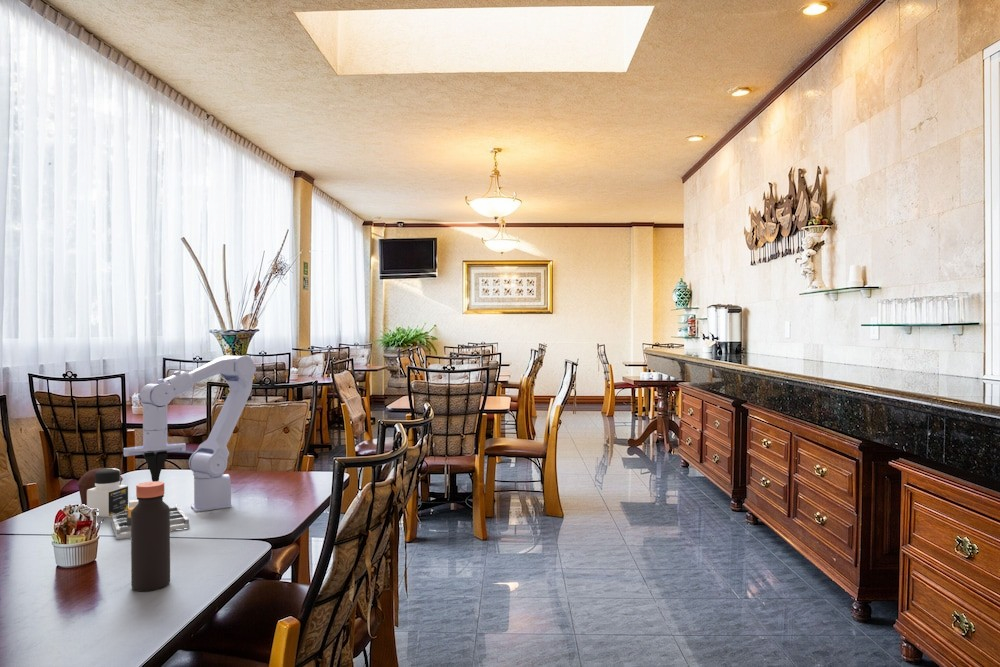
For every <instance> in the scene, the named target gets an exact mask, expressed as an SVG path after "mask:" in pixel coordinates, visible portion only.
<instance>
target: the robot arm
mask: <svg viewBox="0 0 1000 667" xmlns="http://www.w3.org/2000/svg"><path fill="white" fill-rule="evenodd" d="M256 371H257V368H256V365H255V361H254V359H253V358H252V357H250V356H249V355H231V354H225V355H222V356H220V357H216V358H215V359H212V360H211V361H209V362H207V363H205V364H202V365H201V366H199V367H196V368H195V369H193V370H192V371H190V372H187V371H184V370H183V371H180V370H175V371H174V372H173V373H172V374H173V375H169V376H168V377H165V378H159V379H157V380H156V381H157V382H156V383H148V384H145V385H144V386H143V387H142V388H141V390H140V392H139V394H137V398H138V400H139V402H140V404H141V405H142V445H138V446H137V445H136V446H130V447H124V448H123V457H125V458H126V457H130V456H141V455H142V456H143V458H144V460H145V461H146V464H147V466H148V469H149V472H150V476H151V482H154V481H159V482H160V475H161V471H162V468H163V467H164V464H165V462H166V461H167V457H168V453H173V452H174V453H175V452H176V453H177V452H186V451H187V445H186V444H187V443H185V442H183V443H182V442H180V443H168V405H169V404H170V402H171V401H172V400H173V399H175V398H177V397H179V396H181V395H183V394H185V393H187V392H190V391H192V390H193V389H194V386H195V384H197V383H200V382H202V381H203V380H207V379H208V378H211V377H214V376H216V375H220V376H221V377H222V378H223V380H224V381H225V382H226V383H227V385H228V386H229V392H228V395H227V397H226V398H225V401H224V403H223V405H222V408H221V409H220V412H219V413H218V416H217V418H216V420H215V423H214V424H213V426H212V429H211V431H210V433H209V435H208V437H207V439H206V440H204V441H203V442H201V443H200V444H199V445H198V447H197V448H196V449H195V451H194V452H193V453H192V454H191V455H190V457H189V458H188V467H189V469H190V471H192V476H194V477H193V488H194V489H193V492H194V493H193V494H194V495H193V500H194V501H193V502H194V503H191V504H190V508H192V510H193V511H194V512H195V513H196V512H206V511H212V510H218V509H227V508H232V507H233V506H232V481H231V475H230V474H229V473H224V472H225V471H226V469H227V468H228V458H229V456H230V451H229V449H228V444H229V441H230V439H231V436H232V435H233V432H234V430H235V428H236V425H237V423H238V421H239V419H240V417H241V415H242V413H243V410H244V408H245V406H246V404H247V401H248V399H249V397H250V395H251V393H252V388H253V380H254V376H255V373H256Z"/></svg>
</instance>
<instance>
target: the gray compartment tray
mask: <svg viewBox="0 0 1000 667" xmlns="http://www.w3.org/2000/svg"><path fill="white" fill-rule="evenodd" d="M169 508H170V532H172V531H171V530H176V529H183V530H185V529H184V528H189V529H190V519H189V517H188V516H187V515H186V513H185V512H184V511H183V509H182V508H181V507H180V505H179V504H175V505H174V506H172V507H170V506H169ZM110 524H111V526H112V528H113V529H112V530H113V532H115V533H114V535H115V538H116V540H123V538H124V539H131V538H130V537H131V525H128V526H127V512H126V513H119V514H117V515H115V513H114V514H111V517H110ZM176 531H177V530H176Z"/></svg>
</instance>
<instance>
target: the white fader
mask: <svg viewBox="0 0 1000 667" xmlns="http://www.w3.org/2000/svg"><path fill="white" fill-rule="evenodd" d="M137 504H138V500H137V499H131V500H128V508H132V507H136V506H137ZM128 508H127V511H126V513H127V516H128Z"/></svg>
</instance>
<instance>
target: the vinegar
mask: <svg viewBox="0 0 1000 667" xmlns="http://www.w3.org/2000/svg"><path fill="white" fill-rule="evenodd" d="M135 486H136V488H135V489H136V500H138V504H137V506H136V507H135V508H134V509H133V510H132V511H131V538H130V543H131V544H130V546H131V547H130V552H131V553H130V557H131V558H130V559H131V560H130V562H131V564H130V567H131V568H130V569H131V572H130V575H131V578H130V580H131V589H132V590H134V591H135V592H151V591H152V592H153V591H156V590H160V589H163V588H165V587H166V586H168V585H169V584H170V583H171V531H170V506H169V505H168V504H167V503H166V502H165V501H163V499H164V497H165V482H164V481H160V480H159V481H154V482H153V481H146V482H140V483H138V484H136V485H135Z"/></svg>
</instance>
